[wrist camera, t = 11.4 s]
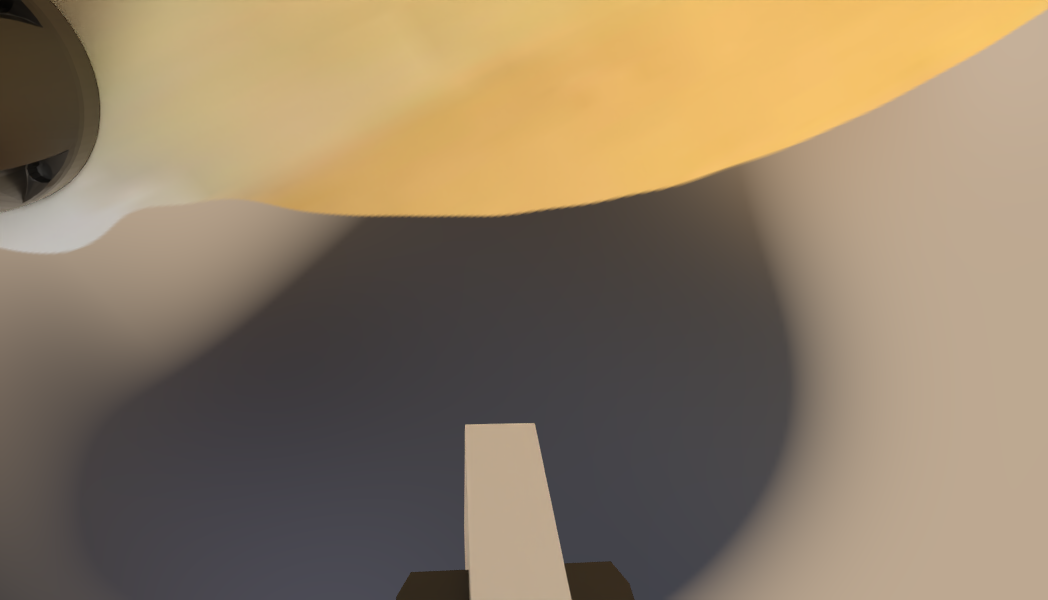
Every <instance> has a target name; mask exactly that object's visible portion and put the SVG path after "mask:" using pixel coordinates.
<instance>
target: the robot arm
mask: <svg viewBox="0 0 1048 600" xmlns="http://www.w3.org/2000/svg"><path fill="white" fill-rule="evenodd" d="M98 126H99V96H98V90H97V85H96V80H95V76H94V73H93V70H92V67H91V64H90V62H89V59H88V57H87V54H86V52H85V50H84V48H83V46H82V44H81V42H80V40H79V39H78V37H77V35H76V34H75V32H74V30H73V29H72V27H71V26H70V25H69V23H68V22H67V20H66V19H65V18H64V16H63V15H62V14H61V13H60V11H59V10H58V9H57V8H56V7H55V6H54V5H53V3H52V2H51V1H50V0H0V212H6V211H10V210H14V209H17V208H20V207H23V206H25V205H28V204H30V203H33V202H35V201H38V200H40V199H43V198H45V197H47V196H49V195H51V194H53V193H55V192H57V191H58V190H60V189H61V188H63V187H64V186H65V185H66V184H68V183H69V182H70V181H71V180H72V179H73V178H74V177H75V176H76V175H77V174H78V173H79V171H80V170H81V169H82V167H83V166H84V165H85V163H86V161H87V159H88V158H89V156H90V153H91V151H92V149H93V146H94V143H95V140H96V136H97V132H98ZM464 509H465V512H464V520H465V521H464V532H465V570H450V571H429V572H411V573H410V575H409V577H408V578H407V580H406V582H405V583H404V585H403V587H402V588H401V590H400V592H399V593H398V595H397V597H396V600H634V597H633V594H632V591H631V588H630V584H629V583H628V582H627V580H626V579H625V578H624V577H623V576H622V574H621V573H620V572H619V571H618V570H617V568H616V567H615V566H614V565H613V564H612V562H610V561H609V562H587V563H566V564H564V561H563V557H562V552H561V547H560V542H559V537H558V533H557V528H556V523H555V519H554V514H553V509H552V504H551V499H550V495H549V490H548V485H547V480H546V475H545V471H544V466H543V461H542V457H541V452H540V447H539V442H538V437H537V432H536V428H535V423H525V424H524V423H519V424H478V425H477V424H474V425H473V424H472V425H465V508H464Z"/></svg>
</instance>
